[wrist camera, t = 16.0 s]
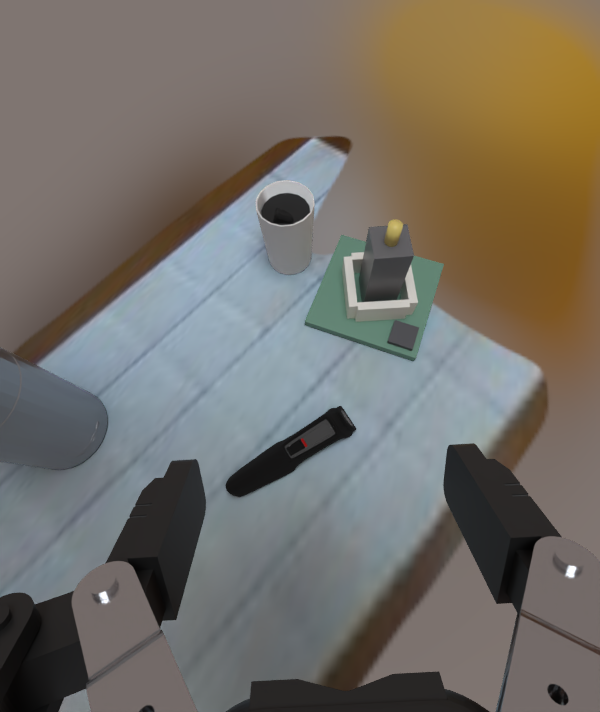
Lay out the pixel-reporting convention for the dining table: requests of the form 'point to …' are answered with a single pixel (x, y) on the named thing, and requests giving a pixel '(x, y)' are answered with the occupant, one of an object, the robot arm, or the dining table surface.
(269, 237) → the grey cup
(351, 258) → the socket
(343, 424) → the electric trimmer
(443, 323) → the dining table surface
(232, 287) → the dining table surface
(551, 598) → the robot arm
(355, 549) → the dining table surface
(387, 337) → the circuit board
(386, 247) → the plug
